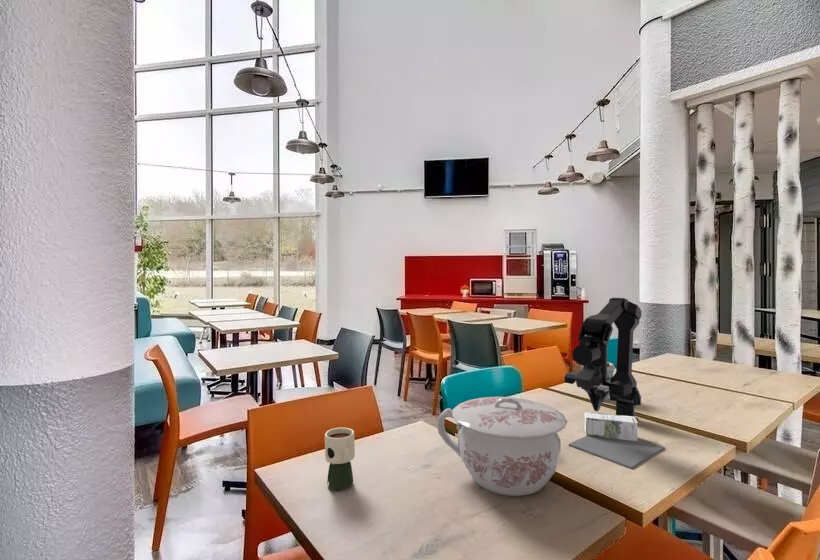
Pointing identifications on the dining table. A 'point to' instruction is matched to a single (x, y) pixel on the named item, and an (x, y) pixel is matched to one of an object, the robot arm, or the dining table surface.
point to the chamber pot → (506, 442)
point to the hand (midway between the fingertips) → (596, 410)
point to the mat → (618, 449)
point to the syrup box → (611, 426)
